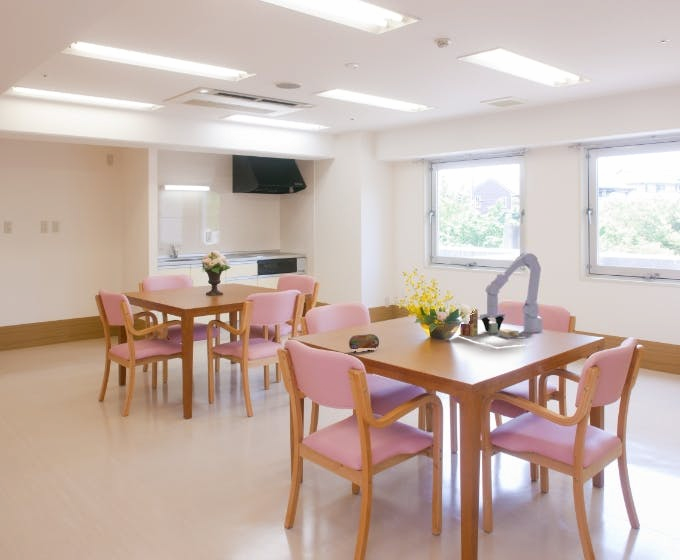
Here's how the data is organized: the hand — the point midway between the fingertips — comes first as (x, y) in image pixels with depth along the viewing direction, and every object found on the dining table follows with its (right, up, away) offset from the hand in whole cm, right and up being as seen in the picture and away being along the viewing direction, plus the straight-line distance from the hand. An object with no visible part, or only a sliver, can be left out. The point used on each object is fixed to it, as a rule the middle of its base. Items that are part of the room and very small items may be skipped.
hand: (492, 330), depth 326 cm
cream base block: (+6, -2, -12) cm, 13 cm away
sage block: (0, -1, 0) cm, 1 cm away
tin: (-72, -8, -34) cm, 80 cm away
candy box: (-14, -3, -5) cm, 15 cm away
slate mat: (+5, -3, -8) cm, 9 cm away
